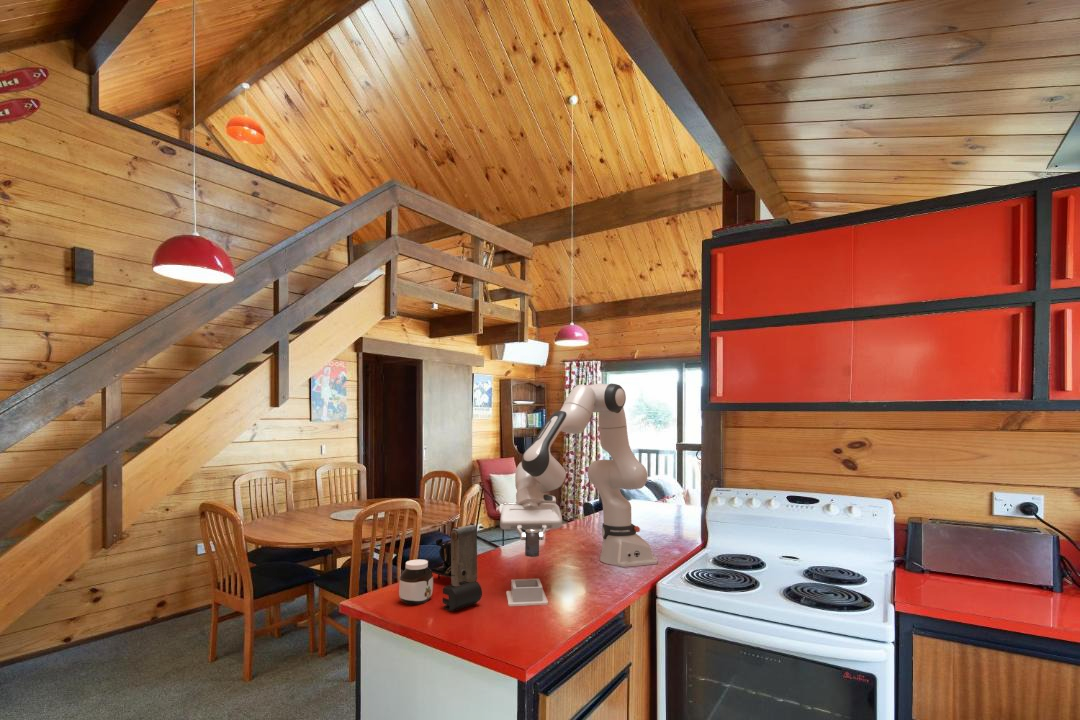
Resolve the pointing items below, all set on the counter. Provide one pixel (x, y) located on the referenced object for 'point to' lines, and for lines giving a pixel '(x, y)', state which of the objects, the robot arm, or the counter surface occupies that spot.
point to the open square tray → (526, 593)
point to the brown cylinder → (532, 542)
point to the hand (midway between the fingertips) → (532, 539)
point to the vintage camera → (459, 555)
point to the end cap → (461, 595)
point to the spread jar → (416, 582)
